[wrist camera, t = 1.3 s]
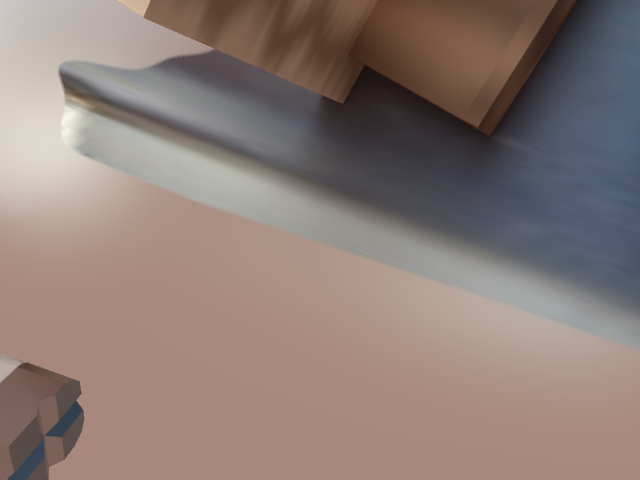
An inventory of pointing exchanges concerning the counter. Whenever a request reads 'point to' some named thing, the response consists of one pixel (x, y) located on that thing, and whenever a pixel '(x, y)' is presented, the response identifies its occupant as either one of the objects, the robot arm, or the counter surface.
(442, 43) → the cleat ledge
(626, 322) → the counter surface
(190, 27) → the wall board
